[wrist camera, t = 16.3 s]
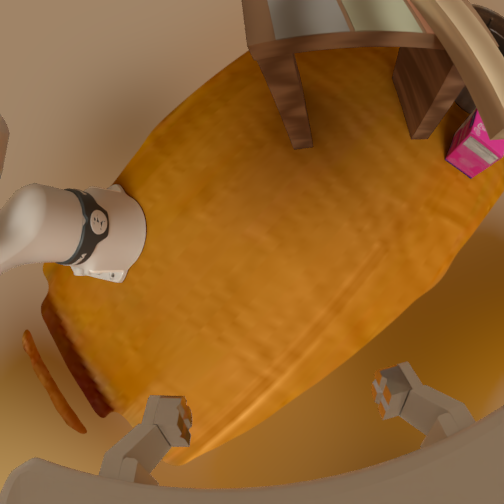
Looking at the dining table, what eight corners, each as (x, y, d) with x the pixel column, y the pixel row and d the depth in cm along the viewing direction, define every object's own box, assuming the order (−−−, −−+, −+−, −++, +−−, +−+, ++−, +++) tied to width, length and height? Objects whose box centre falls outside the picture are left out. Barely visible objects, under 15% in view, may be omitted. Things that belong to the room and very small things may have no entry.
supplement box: (452, 132, 36) (479, 101, 25) (480, 153, 34) (512, 127, 23) (442, 159, 36) (470, 131, 25) (471, 180, 35) (505, 159, 24)
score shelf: (294, 155, 43) (246, 45, 18) (283, 83, 43) (236, -34, 18) (429, 144, 37) (499, 45, 12) (405, 73, 38) (434, -39, 12)
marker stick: (479, 140, 13) (506, 116, 9) (366, -38, 15) (365, -66, 11) (525, 138, 12) (552, 117, 8) (409, -36, 13) (412, -62, 10)
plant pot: (481, 146, 34) (528, 106, 19) (416, 78, 37) (437, 18, 22) (515, 105, 31) (553, 66, 15) (457, 46, 34) (479, -5, 18)
